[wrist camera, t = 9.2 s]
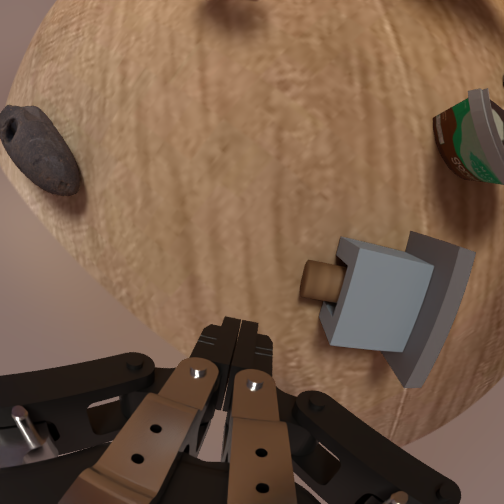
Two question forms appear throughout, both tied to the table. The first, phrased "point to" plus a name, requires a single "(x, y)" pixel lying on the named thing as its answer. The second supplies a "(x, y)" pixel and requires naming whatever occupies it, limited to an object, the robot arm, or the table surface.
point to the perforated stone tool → (39, 149)
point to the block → (376, 297)
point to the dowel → (322, 281)
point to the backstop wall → (432, 307)
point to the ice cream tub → (473, 138)
